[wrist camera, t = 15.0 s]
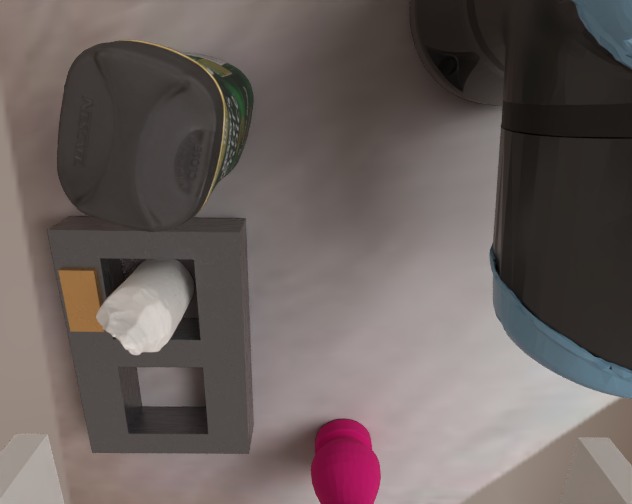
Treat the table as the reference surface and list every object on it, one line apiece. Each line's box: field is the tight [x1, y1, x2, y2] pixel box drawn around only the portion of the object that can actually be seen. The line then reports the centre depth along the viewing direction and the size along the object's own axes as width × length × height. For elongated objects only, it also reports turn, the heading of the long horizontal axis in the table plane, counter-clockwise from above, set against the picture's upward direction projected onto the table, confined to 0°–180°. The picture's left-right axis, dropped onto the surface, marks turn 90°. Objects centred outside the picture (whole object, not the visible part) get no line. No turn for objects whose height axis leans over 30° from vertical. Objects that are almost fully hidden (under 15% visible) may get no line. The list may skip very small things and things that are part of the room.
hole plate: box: [47, 216, 254, 454], centre depth 44 cm, size 16×24×4 cm, turn 179°
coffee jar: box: [57, 40, 253, 232], centre depth 30 cm, size 10×8×19 cm
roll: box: [96, 259, 195, 355], centre depth 39 cm, size 6×12×6 cm
